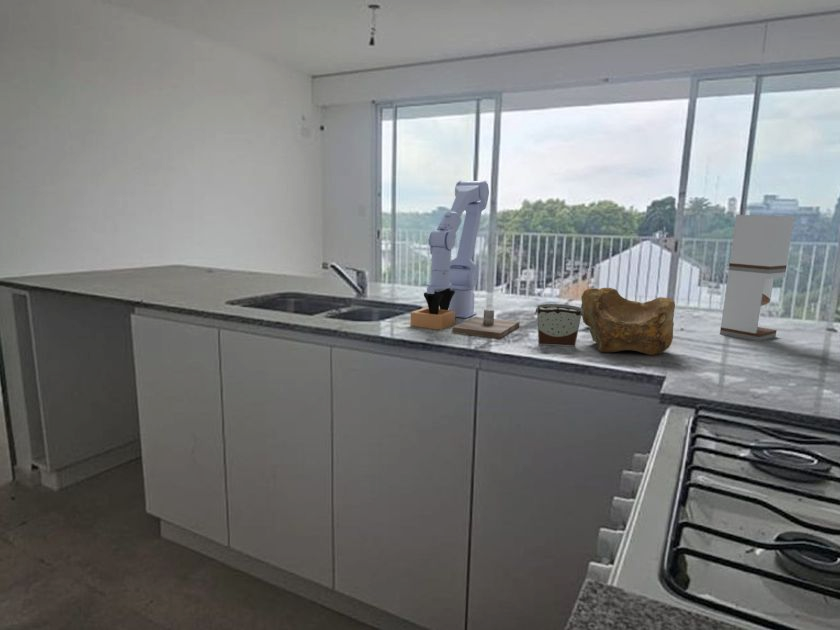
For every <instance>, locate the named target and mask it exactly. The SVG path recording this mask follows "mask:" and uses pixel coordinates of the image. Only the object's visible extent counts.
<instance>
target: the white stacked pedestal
mask: <svg viewBox="0 0 840 630" xmlns="http://www.w3.org/2000/svg"><path fill="white" fill-rule="evenodd" d="M794 220H795V216H793V215H789V216H788V215H767V214H766V215H765V214H759V215H758V214H754V215H753V214H735V221H734V227H733V235H732V241H731V242H732V243H731V250H730V257H729V264H728V272H727V279H726V287H725V294H724V300H723V308H722V316H721V322H720V330H719V334H720V335H724V336H729V337H734V338H738V339H739V338H740V339H746V340H751V341H755V342H761V341H764V340H769V339H772V338H776V337H777V329H771V328H766V327H762V326H758V325H759V320H760V313H761V307H762V306H766V305H767V304H769V303H770V302H771V299H772V298H771V297H772V293H773V284H774V279H780V278H785V277H786V272H787V266H788V259H789V253H790V248H791V247H790V246H791V240H792V234H793V227H794Z"/></svg>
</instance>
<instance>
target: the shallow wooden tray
mask: <svg viewBox="0 0 840 630" xmlns="http://www.w3.org/2000/svg"><path fill="white" fill-rule="evenodd" d="M455 324H456V317H455V311H451V310H449V309H448V310H442V309H440V308H439V312H438V315H437V314H430V313H429V308H428V307H423V308H420V309H417V310H415V311H414V310H413V311H411V312H410V326H411V327H417V328H424V329H425V328H426V329H434V330H441V331H443V330H444V329H446V328H448V327H451V326H454V325H455Z"/></svg>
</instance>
